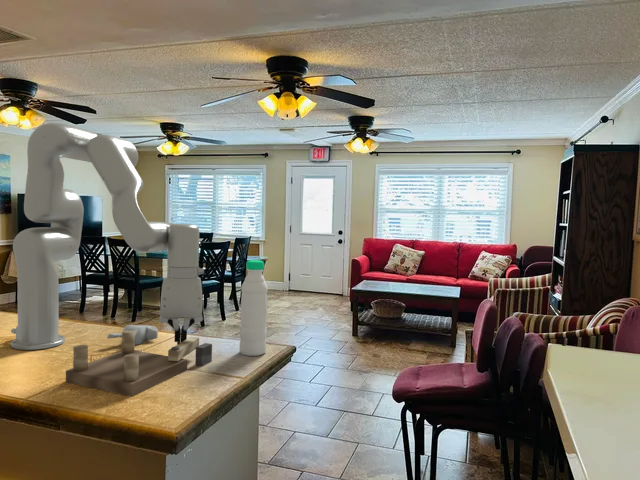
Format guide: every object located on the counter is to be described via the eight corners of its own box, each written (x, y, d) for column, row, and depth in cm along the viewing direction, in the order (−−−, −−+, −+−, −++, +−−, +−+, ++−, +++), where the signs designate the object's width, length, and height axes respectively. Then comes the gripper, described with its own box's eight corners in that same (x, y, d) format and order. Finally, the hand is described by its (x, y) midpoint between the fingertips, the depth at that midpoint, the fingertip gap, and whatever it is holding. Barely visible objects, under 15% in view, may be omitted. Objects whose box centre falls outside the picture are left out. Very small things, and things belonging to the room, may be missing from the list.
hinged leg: (177, 361, 109) (178, 349, 109) (168, 360, 110) (168, 348, 109) (198, 346, 121) (199, 336, 121) (190, 346, 121) (190, 335, 121)
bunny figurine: (167, 324, 139) (133, 330, 124) (165, 342, 138) (132, 349, 124) (139, 321, 141) (104, 326, 127) (138, 338, 141) (102, 345, 127)
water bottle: (261, 358, 123) (263, 262, 121) (235, 355, 124) (237, 261, 123) (269, 350, 130) (272, 260, 128) (245, 348, 131) (247, 258, 130)
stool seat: (65, 381, 102) (66, 347, 101) (149, 350, 126) (150, 322, 125) (137, 397, 95) (137, 360, 94) (211, 361, 119) (212, 331, 118)
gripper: (211, 271, 125) (209, 339, 126) (151, 270, 120) (149, 341, 121) (214, 275, 117) (211, 347, 119) (150, 275, 113) (148, 350, 114)
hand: (180, 344), depth 120 cm, fingers closed
